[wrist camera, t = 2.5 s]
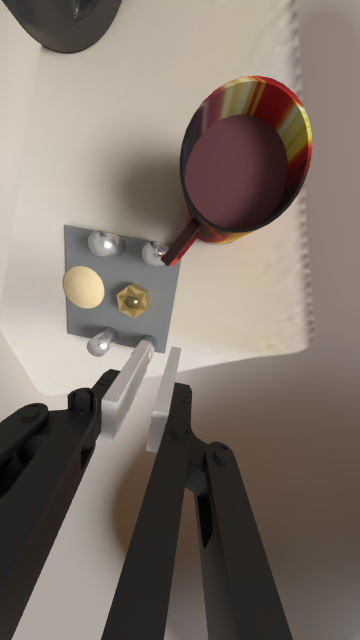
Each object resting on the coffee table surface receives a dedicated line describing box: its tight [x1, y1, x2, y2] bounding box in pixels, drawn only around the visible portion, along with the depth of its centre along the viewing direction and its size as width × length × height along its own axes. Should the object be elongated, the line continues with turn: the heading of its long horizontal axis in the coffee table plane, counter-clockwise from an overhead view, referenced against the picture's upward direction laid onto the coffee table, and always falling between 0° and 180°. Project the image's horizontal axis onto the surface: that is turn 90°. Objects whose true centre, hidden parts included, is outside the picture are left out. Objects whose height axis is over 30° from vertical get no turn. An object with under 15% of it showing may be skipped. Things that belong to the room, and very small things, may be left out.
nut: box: [117, 283, 151, 318], centre depth 29 cm, size 5×4×2 cm
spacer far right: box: [131, 335, 157, 363], centre depth 31 cm, size 3×3×5 cm
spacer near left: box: [88, 231, 126, 256], centre depth 26 cm, size 3×3×5 cm
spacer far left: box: [87, 327, 119, 357], centre depth 31 cm, size 3×3×5 cm
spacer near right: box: [142, 241, 169, 267], centre depth 26 cm, size 3×3×5 cm
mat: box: [63, 225, 181, 353], centre depth 31 cm, size 18×18×1 cm
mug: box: [160, 76, 312, 266], centre depth 20 cm, size 10×14×12 cm
